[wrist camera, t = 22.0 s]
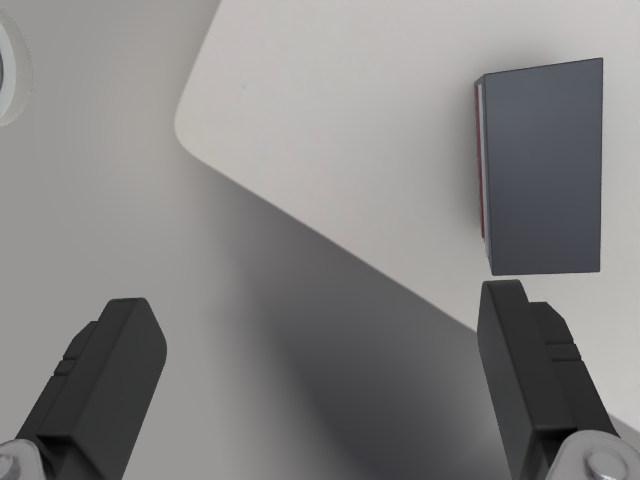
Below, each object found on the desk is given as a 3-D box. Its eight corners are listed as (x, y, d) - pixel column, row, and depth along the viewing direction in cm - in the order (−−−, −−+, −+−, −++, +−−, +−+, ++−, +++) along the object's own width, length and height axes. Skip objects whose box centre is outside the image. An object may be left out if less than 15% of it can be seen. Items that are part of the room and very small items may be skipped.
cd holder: (560, 223, 33) (603, 272, 24) (479, 228, 34) (489, 276, 25) (559, 69, 31) (607, 56, 21) (472, 81, 32) (480, 74, 23)
